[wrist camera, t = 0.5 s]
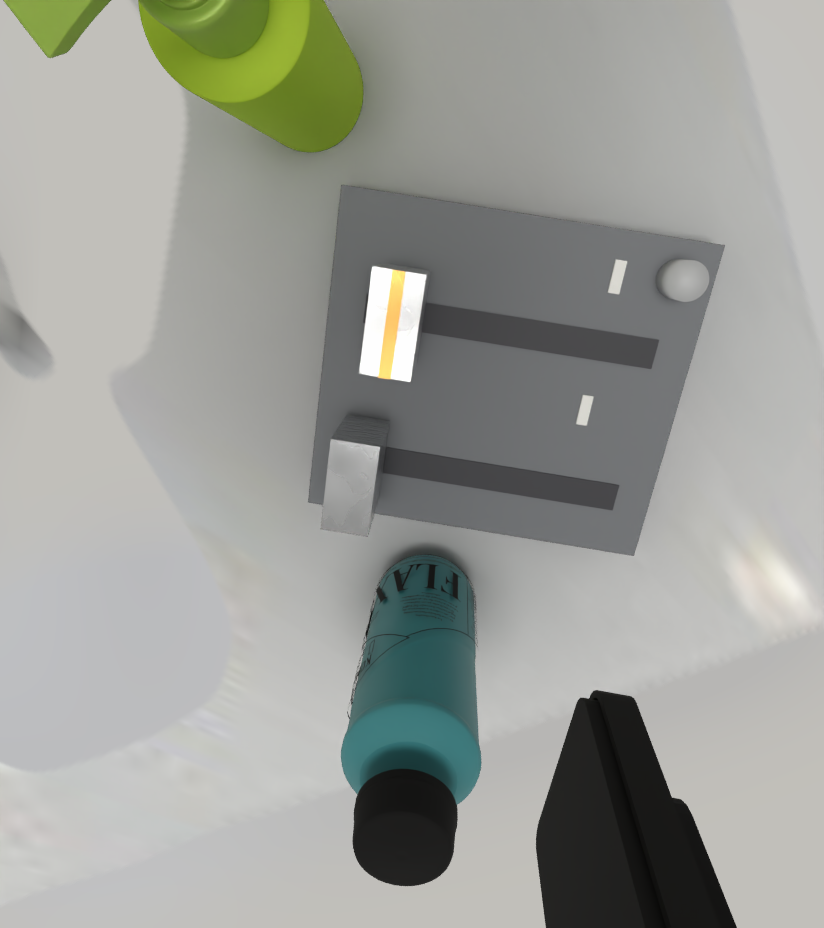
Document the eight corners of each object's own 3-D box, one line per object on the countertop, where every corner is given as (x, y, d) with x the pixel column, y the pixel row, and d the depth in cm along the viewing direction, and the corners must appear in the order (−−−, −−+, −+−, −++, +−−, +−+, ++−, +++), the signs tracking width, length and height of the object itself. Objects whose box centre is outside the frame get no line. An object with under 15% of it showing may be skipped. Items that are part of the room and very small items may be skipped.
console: (347, 187, 35) (334, 181, 32) (710, 245, 35) (741, 245, 31) (314, 490, 41) (300, 515, 38) (625, 541, 41) (642, 571, 37)
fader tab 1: (346, 414, 37) (330, 438, 32) (389, 421, 37) (380, 447, 32) (337, 494, 39) (320, 529, 34) (378, 501, 39) (367, 536, 34)
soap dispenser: (215, 91, 34) (-79, -95, 15) (316, -2, 33) (124, -337, 14) (285, 188, 36) (92, 125, 17) (385, 103, 34) (297, -71, 15)
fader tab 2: (383, 263, 34) (371, 266, 29) (430, 270, 34) (426, 275, 29) (371, 356, 36) (358, 374, 31) (416, 363, 36) (410, 382, 31)
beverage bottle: (475, 540, 42) (491, 785, 23) (475, 629, 44) (489, 921, 25) (374, 540, 42) (308, 780, 23) (379, 628, 44) (322, 914, 25)
